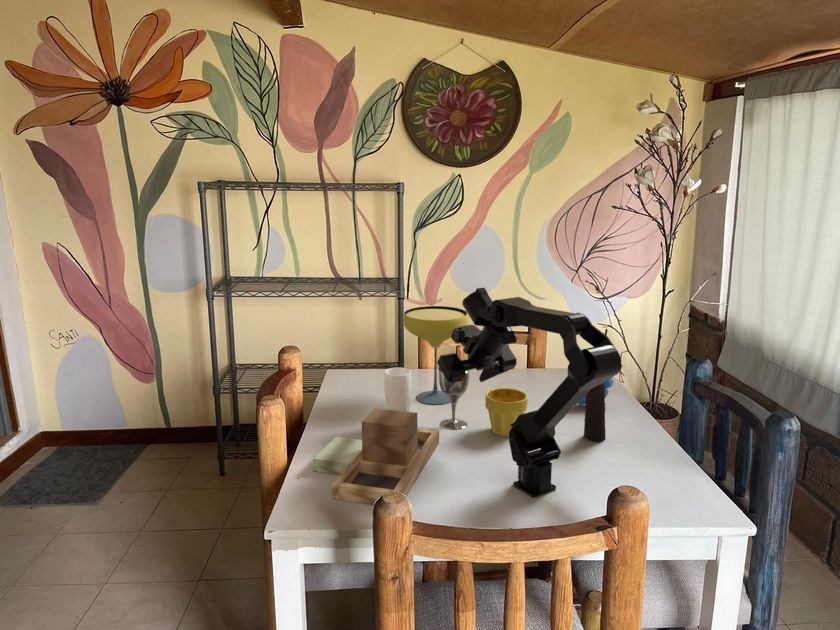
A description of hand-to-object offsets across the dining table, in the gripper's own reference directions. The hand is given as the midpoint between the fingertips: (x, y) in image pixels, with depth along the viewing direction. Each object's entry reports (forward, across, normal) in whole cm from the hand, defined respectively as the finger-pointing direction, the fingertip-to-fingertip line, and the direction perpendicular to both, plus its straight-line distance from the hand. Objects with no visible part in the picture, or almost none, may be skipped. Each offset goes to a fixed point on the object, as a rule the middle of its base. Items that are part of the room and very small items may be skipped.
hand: (464, 383), depth 151 cm
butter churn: (+4, -28, +20) cm, 35 cm away
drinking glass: (+22, +9, -4) cm, 24 cm away
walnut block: (+8, +21, +9) cm, 24 cm away
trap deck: (+13, +24, +8) cm, 29 cm away
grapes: (+14, -45, +7) cm, 48 cm away
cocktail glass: (+30, -11, -14) cm, 35 cm away
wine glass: (+19, -5, 0) cm, 19 cm away
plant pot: (+12, -13, +9) cm, 20 cm away
